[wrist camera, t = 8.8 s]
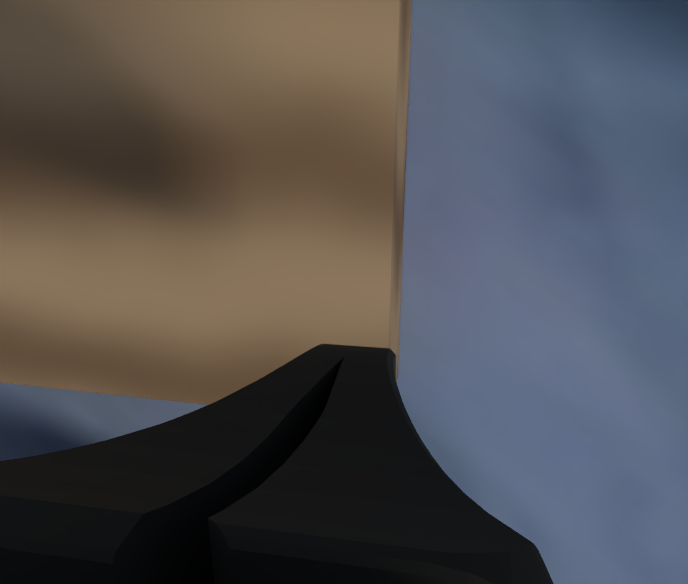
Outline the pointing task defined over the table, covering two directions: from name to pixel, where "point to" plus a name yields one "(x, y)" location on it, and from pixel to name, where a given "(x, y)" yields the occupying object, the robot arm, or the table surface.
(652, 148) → the table surface
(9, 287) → the walnut deck
